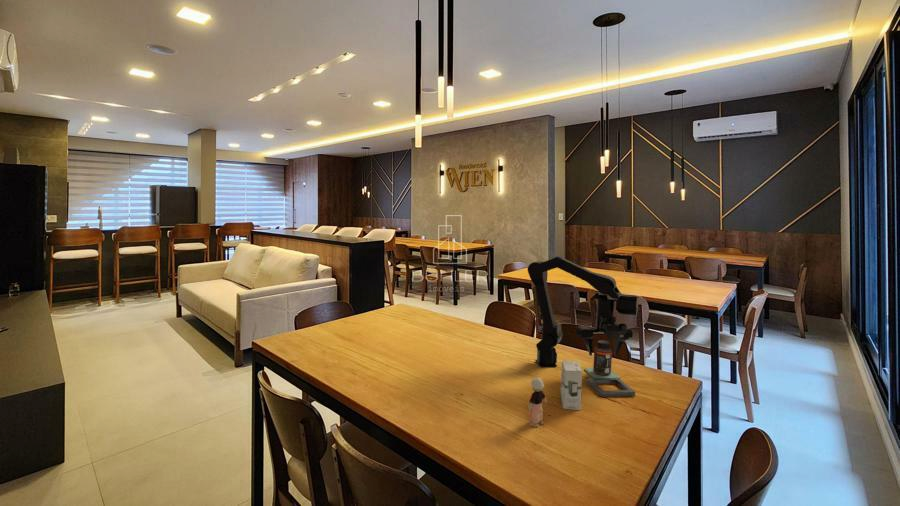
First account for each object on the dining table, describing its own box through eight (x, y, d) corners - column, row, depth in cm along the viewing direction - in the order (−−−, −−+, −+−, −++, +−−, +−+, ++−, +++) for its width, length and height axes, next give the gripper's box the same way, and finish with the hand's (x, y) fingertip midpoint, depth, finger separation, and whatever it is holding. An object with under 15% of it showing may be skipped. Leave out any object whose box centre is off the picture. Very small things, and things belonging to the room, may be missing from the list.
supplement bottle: (612, 376, 143) (614, 345, 143) (594, 375, 145) (596, 343, 144) (609, 370, 149) (610, 340, 148) (592, 369, 151) (593, 338, 150)
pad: (595, 379, 142) (595, 378, 142) (584, 370, 151) (584, 368, 151) (620, 379, 143) (620, 377, 143) (608, 369, 152) (608, 368, 152)
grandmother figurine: (534, 416, 115) (536, 372, 114) (547, 420, 113) (549, 375, 112) (522, 427, 109) (524, 381, 107) (536, 432, 106) (538, 385, 105)
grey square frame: (601, 396, 128) (601, 392, 128) (586, 382, 139) (587, 378, 139) (634, 396, 129) (635, 391, 129) (618, 382, 140) (618, 378, 140)
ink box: (559, 396, 128) (561, 359, 127) (576, 397, 128) (577, 360, 127) (563, 409, 120) (565, 369, 119) (580, 410, 119) (582, 371, 118)
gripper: (589, 317, 136) (586, 363, 138) (643, 317, 138) (640, 363, 139) (576, 310, 147) (574, 352, 149) (626, 310, 149) (624, 352, 150)
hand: (603, 355), depth 146 cm, fingers open, 9 cm apart
